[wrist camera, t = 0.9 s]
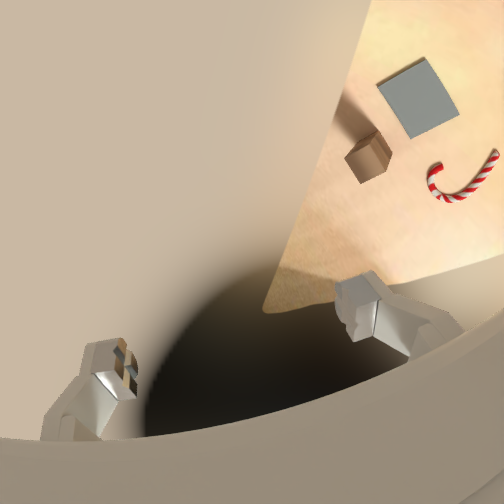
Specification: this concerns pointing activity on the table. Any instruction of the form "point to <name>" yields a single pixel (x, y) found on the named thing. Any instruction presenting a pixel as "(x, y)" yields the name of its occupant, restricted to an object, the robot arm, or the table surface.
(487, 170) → the candy cane
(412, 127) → the slate mat
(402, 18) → the table surface
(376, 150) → the walnut block
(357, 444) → the robot arm
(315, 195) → the table surface
